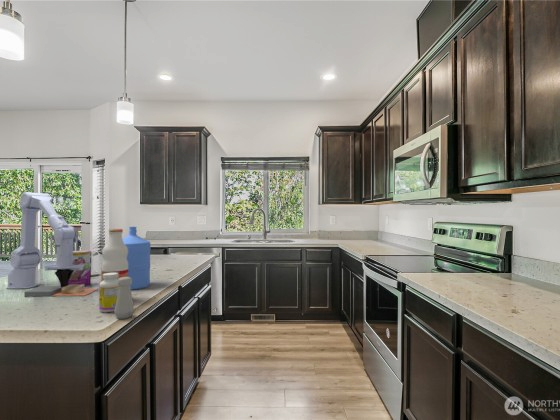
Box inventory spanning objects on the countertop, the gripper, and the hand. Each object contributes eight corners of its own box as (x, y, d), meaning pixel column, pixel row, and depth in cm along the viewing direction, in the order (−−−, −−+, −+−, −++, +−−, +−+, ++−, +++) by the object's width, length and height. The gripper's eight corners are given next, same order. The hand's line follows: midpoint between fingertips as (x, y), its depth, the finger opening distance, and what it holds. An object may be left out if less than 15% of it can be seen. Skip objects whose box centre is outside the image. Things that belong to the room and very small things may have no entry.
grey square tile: (24, 296, 126) (24, 291, 126) (42, 290, 137) (43, 285, 137) (50, 296, 127) (50, 291, 127) (66, 289, 138) (66, 285, 138)
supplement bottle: (101, 308, 112) (102, 272, 112) (121, 306, 114) (122, 271, 114) (97, 313, 105) (97, 275, 105) (118, 312, 107) (119, 274, 108)
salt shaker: (112, 320, 99) (112, 279, 99) (116, 315, 104) (116, 276, 104) (132, 319, 100) (132, 278, 101) (135, 313, 106) (135, 275, 106)
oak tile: (61, 293, 129) (61, 287, 129) (69, 290, 135) (70, 284, 135) (76, 293, 130) (76, 287, 130) (84, 290, 136) (84, 284, 136)
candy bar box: (62, 289, 139) (63, 252, 139) (61, 287, 143) (62, 251, 143) (91, 285, 146) (91, 250, 146) (89, 283, 150) (90, 249, 150)
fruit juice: (99, 299, 123) (101, 228, 124) (126, 295, 129) (127, 228, 129) (101, 304, 116) (102, 229, 116) (129, 301, 121) (130, 229, 121)
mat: (51, 296, 127) (51, 295, 127) (67, 289, 138) (67, 289, 138) (84, 296, 128) (84, 295, 128) (98, 289, 139) (98, 288, 139)
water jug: (157, 284, 150) (158, 226, 150) (132, 292, 135) (133, 227, 135) (131, 282, 155) (132, 226, 155) (104, 289, 140) (105, 227, 140)
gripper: (40, 256, 128) (39, 289, 128) (77, 256, 129) (76, 289, 129) (51, 254, 135) (50, 285, 135) (86, 254, 136) (85, 285, 136)
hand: (64, 287), depth 132 cm, fingers closed
